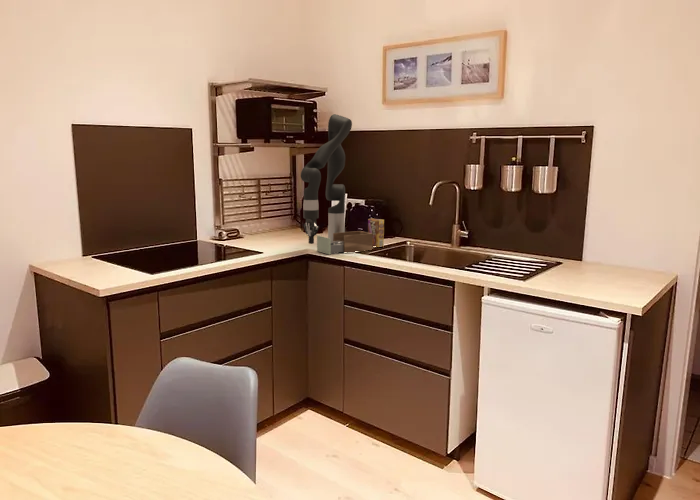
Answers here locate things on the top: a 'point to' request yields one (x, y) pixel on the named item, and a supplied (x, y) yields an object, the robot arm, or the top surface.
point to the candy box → (376, 231)
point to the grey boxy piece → (328, 246)
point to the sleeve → (355, 240)
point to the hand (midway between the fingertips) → (311, 243)
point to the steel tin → (338, 242)
